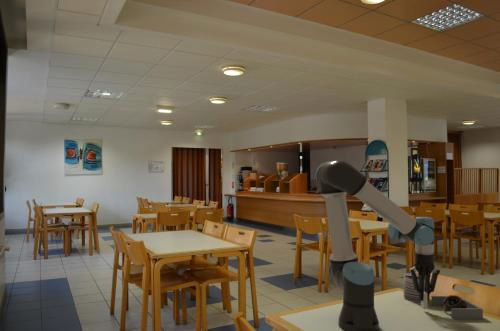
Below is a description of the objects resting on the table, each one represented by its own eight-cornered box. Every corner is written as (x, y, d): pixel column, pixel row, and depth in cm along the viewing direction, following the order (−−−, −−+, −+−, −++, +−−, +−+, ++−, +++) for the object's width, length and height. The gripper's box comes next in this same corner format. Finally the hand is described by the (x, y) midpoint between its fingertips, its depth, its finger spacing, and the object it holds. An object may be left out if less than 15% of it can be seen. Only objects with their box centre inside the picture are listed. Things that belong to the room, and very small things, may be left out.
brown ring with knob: (475, 317, 164) (467, 301, 162) (454, 326, 165) (446, 311, 164) (461, 301, 175) (454, 286, 174) (441, 310, 177) (433, 295, 175)
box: (452, 319, 161) (452, 309, 161) (431, 304, 179) (431, 296, 179) (482, 319, 161) (482, 309, 161) (458, 305, 179) (458, 296, 179)
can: (406, 301, 183) (406, 275, 184) (401, 294, 195) (401, 270, 195) (432, 303, 181) (432, 277, 182) (426, 296, 192) (425, 271, 193)
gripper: (435, 251, 175) (434, 305, 174) (405, 251, 174) (405, 305, 174) (443, 254, 167) (443, 311, 166) (413, 254, 167) (412, 310, 166)
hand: (424, 308), depth 170 cm, fingers closed
